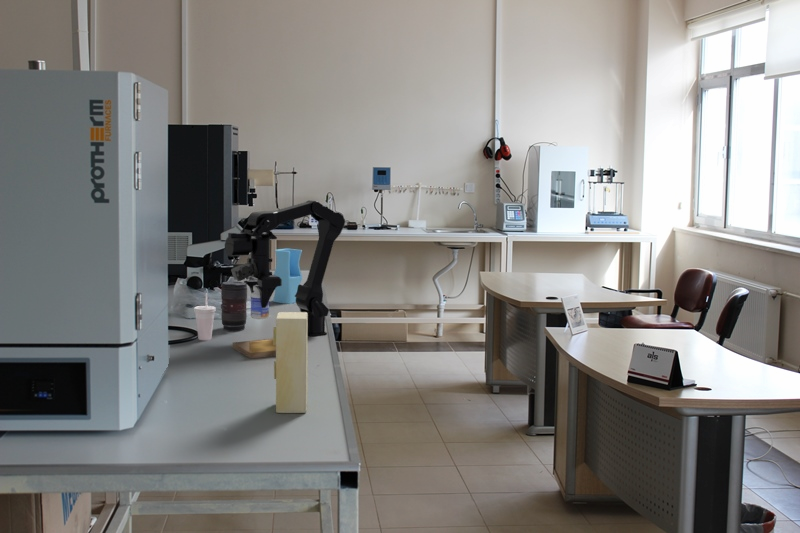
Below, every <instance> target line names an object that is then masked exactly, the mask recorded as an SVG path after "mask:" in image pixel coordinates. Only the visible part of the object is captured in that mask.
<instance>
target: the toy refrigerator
mask: <svg viewBox="0 0 800 533" xmlns="http://www.w3.org/2000/svg"><path fill="white" fill-rule="evenodd" d="M272 330H273V338H272V339H273V345H276V356H275V361H274V362H273V363H274V364H273V378H274V380H275V413H276V414H277V413H278V414H305V413H306V412H307V409H308V407H307V406H308V335H307V330H308V313H307V312H301V311H297V312H295V311H281V312H278V313H277V316H276V319H275V326H274V327H273V329H272Z"/></svg>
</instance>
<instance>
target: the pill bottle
mask: <svg viewBox="0 0 800 533" xmlns="http://www.w3.org/2000/svg"><path fill="white" fill-rule="evenodd" d="M255 286H256V285H254V286H253V291H254V292H253V293H251V294H250V318H251V319H253V320H264V319H265V320H266V319H268V318H270V301H269V302H268V304H267V306H266V308H262V306H261V299H260V291H259V290H258V289H257V288H256V287H255Z"/></svg>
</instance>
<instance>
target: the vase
mask: <svg viewBox="0 0 800 533" xmlns="http://www.w3.org/2000/svg"><path fill="white" fill-rule="evenodd" d="M302 253H303V250H302V249H294V248H279V249H275V257H276V266H275V270H274V273H273V275H276V276H278V277H280V278H281V279H282V286H277V287H276V288H275V290H274V294H273V295H274V296H273V300H272V302H274V303H280V304H284V305H285V304H287V305H288V304H289V305H290V304H296V297H295V295H296V293H297V289H298V285H302V284H301V283H302V280H303V274H302V271H301V268H300V267H301V266H300V261H301V260H300V259H301V256H302Z"/></svg>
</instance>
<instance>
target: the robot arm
mask: <svg viewBox="0 0 800 533" xmlns="http://www.w3.org/2000/svg"><path fill="white" fill-rule="evenodd" d="M308 216H311V217H312V219H313V220H314V221H316V222H318V223H317V232H318V240H317V245H316V247H315V251H314V254H313V258H312V261H311V265H310V268H309V272H308V275H307V279H306V281H305V282H304V283H303V284H300V285H298V289H297V293H296V295H295V297H296V303H295V304H296V306H297V307H298V308H299V312H307V313H308V330H307V337H313V336H315V337H316V336H322V335H328V332H326V328H325V327H326V324H325V323H326V317H327V316H328V315H329V311H330V309H329V308H328V306H326V305H325V303H323V300H324V292H323V286H322V285H323V281H324V278H325V275H326V270H327V267H328V264H329V260H330V258H331V253H332V249H333V246H334V244H335V241H336V240H337V239H338V237H339V236H340V235H341V234H342V231H343V229H344V227H345V224H346V219H345V217H344V215H343V214H342V213H340V212H335V211H334V210H333V209H331V208H329V207H327V206H325V205H323V204H322V203H320V202H319V201H318V200H313V199H312V200H309V199H308V200H307V201H305V202H301V203H298V204H295V205H291V206H287V207H284V208H281V209H276V210H268V211H267V210H264V211H253V212H251V213H250V214H249V217H247V222H246V224H245V225H244V227H243V228H242V230H240V232H228V233H227V234H228V235H227V237H226V239H225V242H224V251H225V253H226V255H227V257H242V256H248V255H250V256H249V257H247V259H246V263H243V264H240V265H238V266H235V267H232V268H231V270H230V272H231V273H232V277H233V279H234V281H236V282H242V281H243V282H244V283H246V284H247V286H248V287H249V289H250V292H251V294H252V293H253V292H254V291H253V286H254V285H256V286H255V287H256V288H257V289H258V290H259V291H260V299H261V306H262V308H266V306H267V304H268V302H269V303H270V299H271V297H272V295H274V294H273V293H275V288H276V287H277V286H282V279H281V278H280V277H278V276H276V275H274V274H273V271H271V263H272V262H273V258H272V257H271V240H277V239H278V237H277V235H275V234H274V233H273V232H272V230H275V229H276V228H278V227H279V226H280V225H282V224H284V223H287V222H290V221H293V220H297V219H300V218H305V217H308Z"/></svg>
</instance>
